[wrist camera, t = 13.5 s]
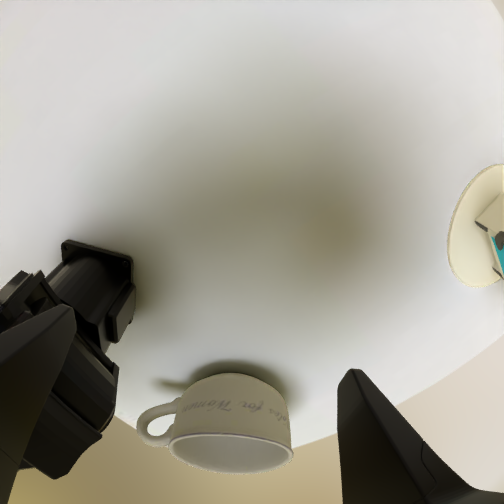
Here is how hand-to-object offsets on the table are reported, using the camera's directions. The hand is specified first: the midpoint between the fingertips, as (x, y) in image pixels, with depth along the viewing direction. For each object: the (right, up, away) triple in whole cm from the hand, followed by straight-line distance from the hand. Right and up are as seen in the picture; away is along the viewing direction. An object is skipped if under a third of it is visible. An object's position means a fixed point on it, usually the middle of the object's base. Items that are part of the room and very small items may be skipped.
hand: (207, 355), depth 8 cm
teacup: (-2, -10, +19) cm, 22 cm away
